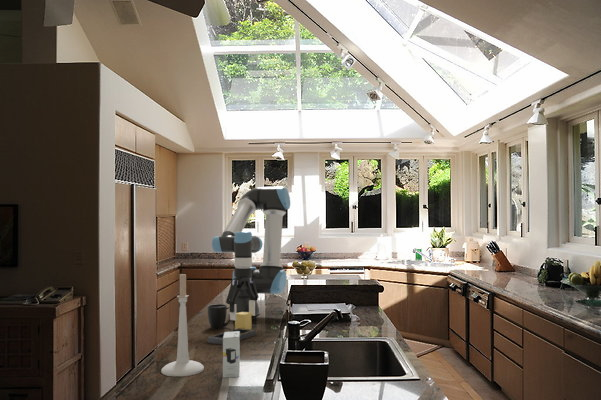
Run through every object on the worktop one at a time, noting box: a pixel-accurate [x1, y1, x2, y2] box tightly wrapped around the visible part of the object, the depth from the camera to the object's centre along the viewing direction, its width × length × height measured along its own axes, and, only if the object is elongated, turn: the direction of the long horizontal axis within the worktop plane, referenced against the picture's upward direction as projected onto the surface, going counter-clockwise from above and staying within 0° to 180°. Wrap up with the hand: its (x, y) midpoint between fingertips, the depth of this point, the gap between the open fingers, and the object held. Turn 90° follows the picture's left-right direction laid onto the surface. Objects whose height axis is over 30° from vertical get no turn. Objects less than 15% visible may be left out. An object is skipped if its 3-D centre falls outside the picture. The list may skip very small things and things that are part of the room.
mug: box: [207, 303, 231, 330], centre depth 222 cm, size 8×12×10 cm
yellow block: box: [234, 312, 252, 329], centre depth 218 cm, size 5×5×7 cm
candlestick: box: [160, 273, 205, 377], centre depth 159 cm, size 13×13×30 cm
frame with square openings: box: [207, 328, 257, 346], centre depth 201 cm, size 20×8×2 cm, turn 150°
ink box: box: [222, 331, 241, 378], centre depth 155 cm, size 9×5×12 cm, turn 5°
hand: (242, 317), depth 217 cm, fingers open, 13 cm apart
